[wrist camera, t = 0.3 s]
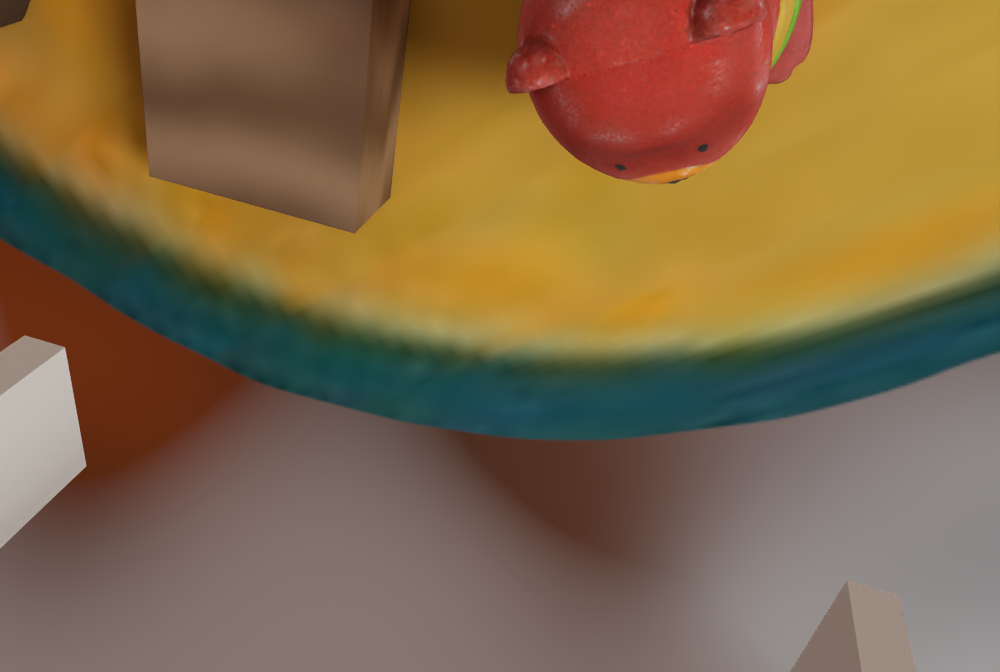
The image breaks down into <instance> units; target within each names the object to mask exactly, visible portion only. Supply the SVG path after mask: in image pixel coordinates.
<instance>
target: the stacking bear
mask: <svg viewBox="0 0 1000 672" xmlns="http://www.w3.org/2000/svg"><path fill="white" fill-rule="evenodd" d="M812 34H813V0H524V1H523V4H522V8H521V13H520V20H519V29H518V49H517V50H516V51H515V52H514V53H513V54H512V56H511V58H510V60H509V62H508V64H507V72H506V79H505V81H506V87H507V90H508V91H509V93H525V92H529V94H530V97H531V99H532V102H533V104H534V106H535V108H536V111H537V113H538V115H539V117H540V118H541V120H542V122H543V123H544V125H545V126H546V127H547V129H548V130H549V132H550V133H551V134H552V135H553V137H554V138H555V139H556V140H557V141H558V142H559V143H560V144H561V145H562V146H563V147H564V148H565V149H566V150H567V151H568V152H570V153H571V154H572V155H573V156H574V157H575V158H577V159H578V160H580V161H581V162H583V163H585V164H586V165H588V166H590V167H592V168H593V169H595V170H598V171H600V172H602V173H604V174H606V175H609V176H612V177H615V178H618V179H623V180H628V181H633V182H639V183H648V184H664V183H677V182H679V181H681V180H684V179H687V178H688V177H691V176H693V175H695V174H698V173H699V172H701V171H703V170H705V169H707V168H708V167H710V166H711V165H712V164H713V163H715V162H716V161H717V160H718V159H719V158H721V157H722V156H723V155H725V154H726V153H727V152H728V151H729V150H730V149H731V148H732V147H733V146H734V145H735V144H736V143H737V142H738V141H739V140H740V139H741V137H742V136H743V135H744V134H745V132H746V131H747V130H748V128H749V127H750V125H751V124H752V122H753V120H754V118H755V116H756V114H757V112H758V110H759V108H760V106H761V103H762V100H763V97H764V94H765V92H766V88H767V85H768V84H777V83H782V82H784V81H785V80H787V79H788V78H789V77H790V75H791V73H792V70H793V69H794V68H795V66H797V65H799V64H800V63H802V62H803V61H804V60H805V58H806V56H807V55H808V53H809V50H810V46H811V42H812Z"/></svg>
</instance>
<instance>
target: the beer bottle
mask: <svg viewBox="0 0 1000 672" xmlns="http://www.w3.org/2000/svg"><path fill="white" fill-rule="evenodd" d="M29 2H30V0H0V27H3V26H6V25H9V24H12V23H15V22H18V21H21V20H22V19H23V18H24V16H25V14H26V11H27V8H28V5H29Z"/></svg>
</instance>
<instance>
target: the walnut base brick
mask: <svg viewBox="0 0 1000 672" xmlns="http://www.w3.org/2000/svg"><path fill="white" fill-rule="evenodd" d="M410 1H411V0H135V2H136V14H137V27H138V40H139V52H140V65H141V77H142V90H143V102H144V115H145V128H146V140H147V153H148V165H149V176H151V177H155V178H158V179H162V180H165V181H169V182H172V183H176V184H180V185H183V186H187V187H190V188H194V189H198V190H201V191H205V192H208V193H212V194H215V195H219V196H223V197H226V198H230V199H233V200H237V201H241V202H244V203H248V204H251V205H255V206H258V207H262V208H266V209H269V210H273V211H276V212H280V213H283V214H287V215H291V216H294V217H298V218H301V219H305V220H309V221H312V222H316V223H319V224H323V225H326V226H330V227H334V228H337V229H341V230H344V231H348V232H352V233H355V232H356V231H357V230H358V229H359V228H360V227H361V226H362V225H363V224H364V223H365V222H366V221H367V220H368V219H369V218H370V217H371V216H372V215H373V214H374V213H375V212H376V211H377V210H378V209H379V208H380V207H381V206H382V205H383V204H384V203H385V202H386V201H387V200H388V199H389V198H390V193H391V183H392V174H393V164H394V155H395V145H396V136H397V126H398V116H399V107H400V97H401V88H402V78H403V68H404V59H405V49H406V40H407V30H408V21H409V11H410Z"/></svg>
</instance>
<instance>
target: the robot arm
mask: <svg viewBox="0 0 1000 672" xmlns="http://www.w3.org/2000/svg"><path fill="white" fill-rule="evenodd" d="M85 467H86V462H85V456H84V451H83V445H82V440H81V435H80V429H79V423H78V418H77V412H76V407H75V401H74V396H73V390H72V384H71V379H70V373H69V368H68V363H67V357H66V351H65V347H62V346H58V345H55V344H51V343H48V342H45V341H41V340H38V339H34V338H31V337H28V336H23V337H22V338H20V339H19V340H17V341H16V342H14V343H13V344H12V345H10V346H9V347H7V348H6V349H4V350H3V351H1V352H0V548H1V547H2V546H3V545H4V544H5V543H6V542H7V541H8V540H9V539H10V538H11V537H12V536H13V535H14V534H15V533H17V532H18V531H19V529H21V528H22V527H23V526H24V525H25V524H26V523H27V522H28V521H29V520H30V519H31V518H32V517H33V516H34V515H35V514H36V513H38V512H39V511H40V510H41V509H42V508H43V507H44V506H45V505H46V504H47V503H48V502H49V501H50V500H51V499H52V498H53V497H54V496H55V495H56V494H57V493H58V492H59V491H61V490H62V489H63V488H64V487H65V486H66V485H67V484H68V483H69V482H70V481H71V480H72V479H73V478H74V477H75V476H76V475H77V474H78V473H79V472H80V471H81V470H83V469H84V468H85ZM790 672H916V669H915V664H914V660H913V655H912V651H911V647H910V642H909V637H908V633H907V629H906V624H905V621H904V615H903V611H902V607H901V602H900V598H899V596H897V595H895V594H891V593H888V592H884V591H881V590H878V589H874V588H871V587H868V586H864V585H861V584H857V583H854V582H851V581H848V580H847V581H846V583H845V584H844V586H843V588H842V589H841V591H840V593H839V594H838V596H837V597H836V599H835V601H834V602H833V604H832V605H831V607H830V609H829V610H828V612H827V613H826V615H825V617H824V618H823V620H822V621H821V623H820V625H819V626H818V628H817V630H816V631H815V633H814V634H813V636H812V638H811V639H810V641H809V642H808V644H807V646H806V647H805V649H804V650H803V652H802V654H801V655H800V657H799V659H798V660H797V662H796V663H795V665H794V667H793V668H792V670H791V671H790Z"/></svg>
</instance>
